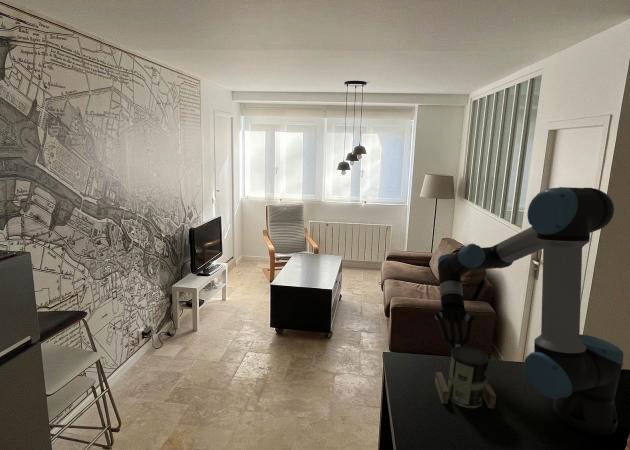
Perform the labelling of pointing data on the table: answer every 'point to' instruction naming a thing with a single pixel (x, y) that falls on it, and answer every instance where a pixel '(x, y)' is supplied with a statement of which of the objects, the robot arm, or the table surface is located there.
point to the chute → (444, 392)
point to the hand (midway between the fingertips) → (458, 366)
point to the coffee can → (467, 376)
